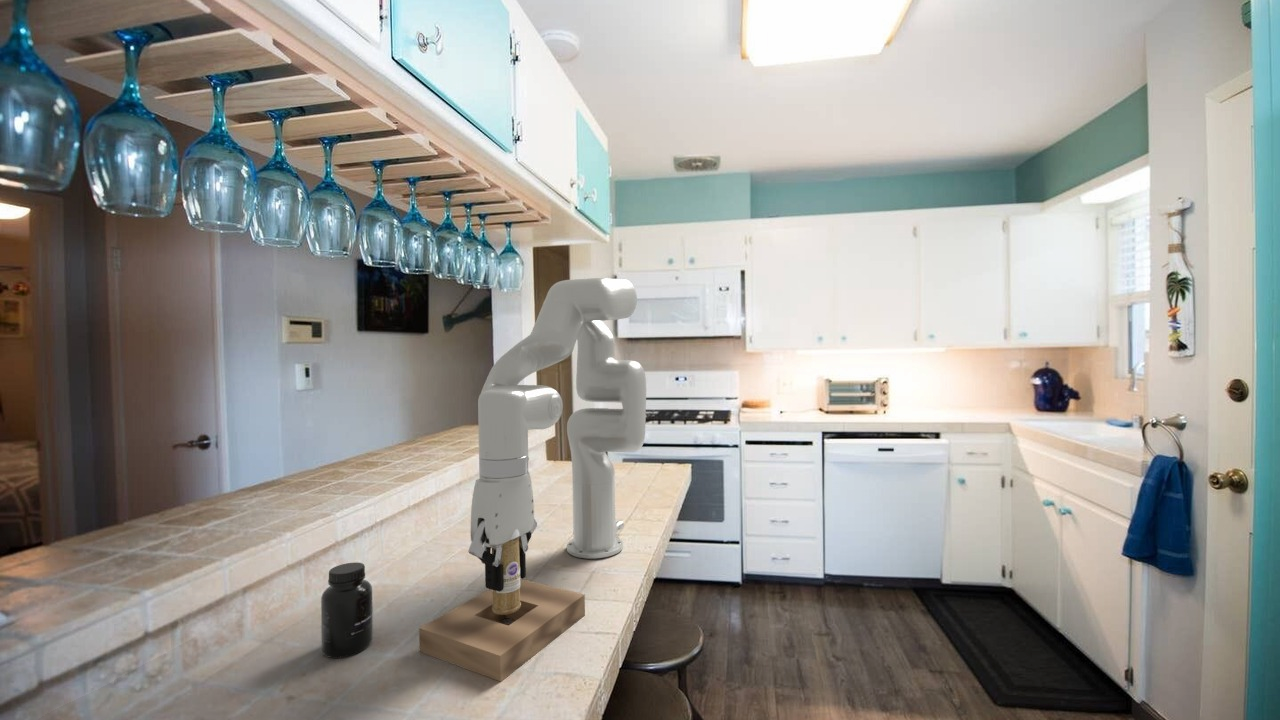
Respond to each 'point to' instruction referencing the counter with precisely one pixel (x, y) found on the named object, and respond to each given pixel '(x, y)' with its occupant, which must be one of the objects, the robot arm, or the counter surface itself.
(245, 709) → the counter surface
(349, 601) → the supplement bottle
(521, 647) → the spice holder
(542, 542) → the counter surface
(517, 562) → the sprinkles bottle
